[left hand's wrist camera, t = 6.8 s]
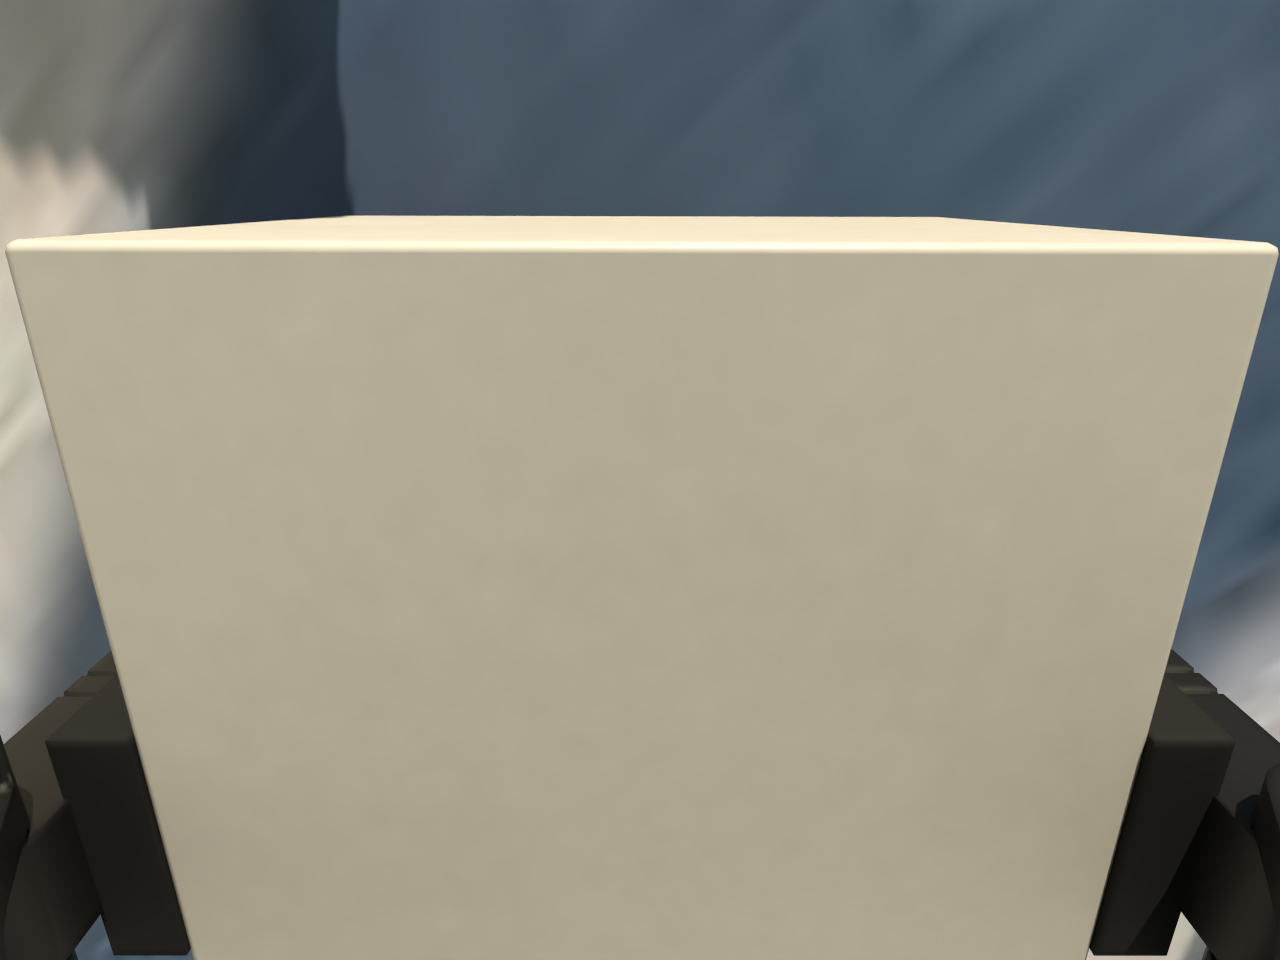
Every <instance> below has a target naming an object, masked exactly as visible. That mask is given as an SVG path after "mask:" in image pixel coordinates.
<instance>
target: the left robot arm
mask: <svg viewBox="0 0 1280 960" xmlns="http://www.w3.org/2000/svg"><path fill="white" fill-rule="evenodd" d="M1193 670H1194V668H1193V667H1191V666H1190V665H1189V664H1188V663H1187V662H1186V661H1185V660H1183V659H1182V658H1181V657H1180V656H1179V655H1178V654H1176V653H1175V652H1174V651H1173V650H1172V649H1171V650H1170V654H1169V658H1168V661H1167V665H1166V669H1165V672H1164V676H1163V680H1162V683H1161V687H1160V691H1159V694H1158V698H1157V702H1156V705H1155V709H1154V712H1153V716H1152V720H1151V723H1150V727H1149V731H1148V734H1147V738H1146V742H1145V745H1144V749H1143V753H1142V756H1141V760H1140V764H1139V767H1138V771H1137V775H1136V778H1135V782H1134V786H1133V789H1132V793H1131V797H1130V800H1129V804H1128V808H1127V811H1126V815H1125V819H1124V822H1123V826H1122V830H1121V833H1120V837H1119V841H1118V844H1117V848H1116V852H1115V855H1114V859H1113V863H1112V866H1111V870H1110V874H1109V877H1108V881H1107V885H1106V888H1105V892H1104V896H1103V899H1102V903H1101V907H1100V910H1099V914H1098V918H1097V921H1096V925H1095V928H1094V932H1093V936H1092V939H1091V943H1090V947H1089V948H1090V950H1091V951H1092V953H1093V955H1111V956H1167V953H1168V950H1169V947H1170V944H1171V940H1172V937H1173V934H1174V931H1175V928H1176V925H1177V922H1178V919H1179V916H1180V913H1181V912H1182V913H1183V914H1184V916H1185V917H1186V918H1187V920H1188V921H1189V922H1190V924H1191V925H1192V926H1193V928H1194V929H1195V930H1196V932H1197V933H1198V934H1199V936H1200V937H1201V938H1202V940H1203V941H1204V943H1205V944H1206V945H1207V946H1206V949H1205V952H1204V955H1203V958H1202V960H1280V743H1279V742H1278V741H1277V740H1276V739H1275V738H1274V737H1272V736H1271V735H1270V734H1269V733H1268V732H1267V731H1265V730H1264V729H1263V728H1262V727H1261V726H1260V725H1259V724H1257V723H1256V722H1255V721H1254V720H1253V719H1252V718H1250V717H1249V716H1248V715H1247V714H1246V713H1245V712H1243V711H1242V710H1241V709H1240V708H1239V707H1238V706H1237V705H1235V704H1234V703H1233V702H1232V701H1231V700H1230V699H1228V698H1227V697H1226V696H1225V695H1224V694H1218V692H1217V688H1216V687H1215V686H1213V685H1212V684H1211V683H1210V682H1209V681H1208V680H1207V679H1205V678H1204V677H1203V676H1202V675H1201V674H1200V673H1194V671H1193ZM100 914H101V917H102V920H103V923H104V926H105V929H106V932H107V935H108V938H109V941H110V945H111V948H112V951H113V954H114V955H187V954H188V952H189V950H190V949H191V947H190V943H189V939H188V935H187V932H186V928H185V924H184V920H183V917H182V913H181V909H180V905H179V902H178V898H177V894H176V890H175V887H174V883H173V879H172V875H171V872H170V868H169V864H168V860H167V857H166V853H165V849H164V845H163V842H162V838H161V834H160V830H159V827H158V823H157V819H156V815H155V812H154V808H153V804H152V800H151V797H150V793H149V789H148V785H147V782H146V778H145V774H144V770H143V767H142V763H141V759H140V755H139V752H138V748H137V744H136V740H135V737H134V733H133V729H132V725H131V722H130V718H129V714H128V710H127V707H126V703H125V699H124V695H123V692H122V688H121V684H120V680H119V677H118V673H117V669H116V665H115V662H114V658H113V654H112V650H111V651H110V652H109V653H108V654H107V655H106V656H105V657H103V658H102V659H101V660H100V661H99V662H98V663H97V664H95V665H94V666H93V667H92V668H91V669H90V670H88V675H87V676H82V677H80V678H79V679H78V680H77V681H76V682H75V683H74V684H72V685H71V686H70V687H69V688H68V689H67V690H66V691H64V696H63V697H58V698H56V699H55V700H54V701H53V702H52V703H51V704H50V705H48V706H47V707H46V708H45V709H44V710H43V711H41V712H40V713H39V714H38V715H37V716H36V717H35V718H33V719H32V720H31V721H30V722H29V723H28V724H27V725H25V726H24V727H23V728H22V729H21V730H20V731H19V732H17V733H16V734H15V735H14V736H13V737H12V738H11V739H9V740H8V741H7V742H6V743H5V744H4V745H3V742H2V739H1V736H0V960H78V958H77V955H76V952H75V948H76V946H77V945H78V944H79V942H80V941H81V940H82V938H83V937H84V936H85V934H86V933H87V932H88V930H89V929H90V928H91V926H92V925H93V923H94V922H95V921H96V919H97V918H98V917H99V915H100Z"/></svg>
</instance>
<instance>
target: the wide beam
mask: <svg viewBox="0 0 1280 960" xmlns="http://www.w3.org/2000/svg"><path fill="white" fill-rule="evenodd" d="M5 253H6V257H7V260H8V264H9V268H10V272H11V275H12V279H13V283H14V287H15V290H16V294H17V298H18V302H19V305H20V309H21V313H22V317H23V320H24V324H25V328H26V332H27V335H28V339H29V343H30V347H31V350H32V354H33V358H34V362H35V365H36V369H37V373H38V377H39V380H40V384H41V388H42V392H43V395H44V399H45V403H46V407H47V410H48V414H49V418H50V422H51V425H52V429H53V433H54V437H55V440H56V444H57V448H58V452H59V455H60V459H61V463H62V467H63V470H64V474H65V478H66V482H67V485H68V489H69V493H70V497H71V500H72V504H73V508H74V512H75V515H76V519H77V523H78V527H79V530H80V534H81V538H82V542H83V545H84V549H85V553H86V557H87V560H88V564H89V568H90V572H91V575H92V579H93V583H94V587H95V590H96V594H97V598H98V602H99V605H100V609H101V613H102V617H103V620H104V624H105V628H106V632H107V635H108V639H109V643H110V647H111V650H112V654H113V658H114V662H115V665H116V669H117V673H118V677H119V680H120V684H121V688H122V692H123V695H124V699H125V703H126V707H127V710H128V714H129V718H130V722H131V725H132V729H133V733H134V737H135V740H136V744H137V748H138V752H139V755H140V759H141V763H142V767H143V770H144V774H145V778H146V782H147V785H148V789H149V793H150V797H151V800H152V804H153V808H154V812H155V815H156V819H157V823H158V827H159V830H160V834H161V838H162V842H163V845H164V849H165V853H166V857H167V860H168V864H169V868H170V872H171V875H172V879H173V883H174V887H175V890H176V894H177V898H178V902H179V905H180V909H181V913H182V917H183V920H184V924H185V928H186V932H187V935H188V939H189V943H190V947H191V950H192V954H193V958H194V960H1086V958H1087V954H1088V950H1089V947H1090V943H1091V939H1092V936H1093V932H1094V928H1095V925H1096V921H1097V918H1098V914H1099V910H1100V907H1101V903H1102V899H1103V896H1104V892H1105V888H1106V885H1107V881H1108V877H1109V874H1110V870H1111V866H1112V863H1113V859H1114V855H1115V852H1116V848H1117V844H1118V841H1119V837H1120V833H1121V830H1122V826H1123V822H1124V819H1125V815H1126V811H1127V808H1128V804H1129V800H1130V797H1131V793H1132V789H1133V786H1134V782H1135V778H1136V775H1137V771H1138V767H1139V764H1140V760H1141V756H1142V753H1143V749H1144V745H1145V742H1146V738H1147V734H1148V731H1149V727H1150V723H1151V720H1152V716H1153V712H1154V709H1155V705H1156V702H1157V698H1158V694H1159V691H1160V687H1161V683H1162V680H1163V676H1164V672H1165V669H1166V665H1167V661H1168V658H1169V654H1170V650H1171V647H1172V643H1173V639H1174V636H1175V632H1176V628H1177V625H1178V621H1179V617H1180V614H1181V610H1182V606H1183V603H1184V599H1185V595H1186V592H1187V588H1188V584H1189V581H1190V577H1191V573H1192V570H1193V566H1194V562H1195V559H1196V555H1197V551H1198V548H1199V544H1200V540H1201V537H1202V533H1203V529H1204V526H1205V522H1206V518H1207V515H1208V511H1209V507H1210V504H1211V500H1212V496H1213V493H1214V489H1215V486H1216V482H1217V478H1218V475H1219V471H1220V467H1221V464H1222V460H1223V456H1224V453H1225V449H1226V445H1227V442H1228V438H1229V434H1230V431H1231V427H1232V423H1233V420H1234V416H1235V412H1236V409H1237V405H1238V401H1239V398H1240V394H1241V390H1242V387H1243V383H1244V379H1245V376H1246V372H1247V368H1248V365H1249V361H1250V357H1251V354H1252V350H1253V346H1254V343H1255V339H1256V335H1257V332H1258V328H1259V324H1260V321H1261V317H1262V313H1263V310H1264V306H1265V302H1266V299H1267V295H1268V291H1269V288H1270V284H1271V280H1272V277H1273V273H1274V270H1275V266H1276V262H1277V259H1278V248H1277V247H1275V246H1273V245H1271V244H1269V243H1264V242H1251V241H1238V240H1225V239H1212V238H1199V237H1187V236H1174V235H1161V234H1148V233H1135V232H1122V231H1109V230H1096V229H1083V228H1070V227H1057V226H1044V225H1031V224H1018V223H1005V222H992V221H979V220H966V219H953V218H940V217H647V216H334V217H321V218H307V219H293V220H280V221H266V222H252V223H238V224H225V225H211V226H197V227H183V228H170V229H156V230H142V231H128V232H115V233H101V234H87V235H74V236H60V237H46V238H32V239H19V240H15V241H13V242H10V243H9V244H7V245H6V250H5Z"/></svg>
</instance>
